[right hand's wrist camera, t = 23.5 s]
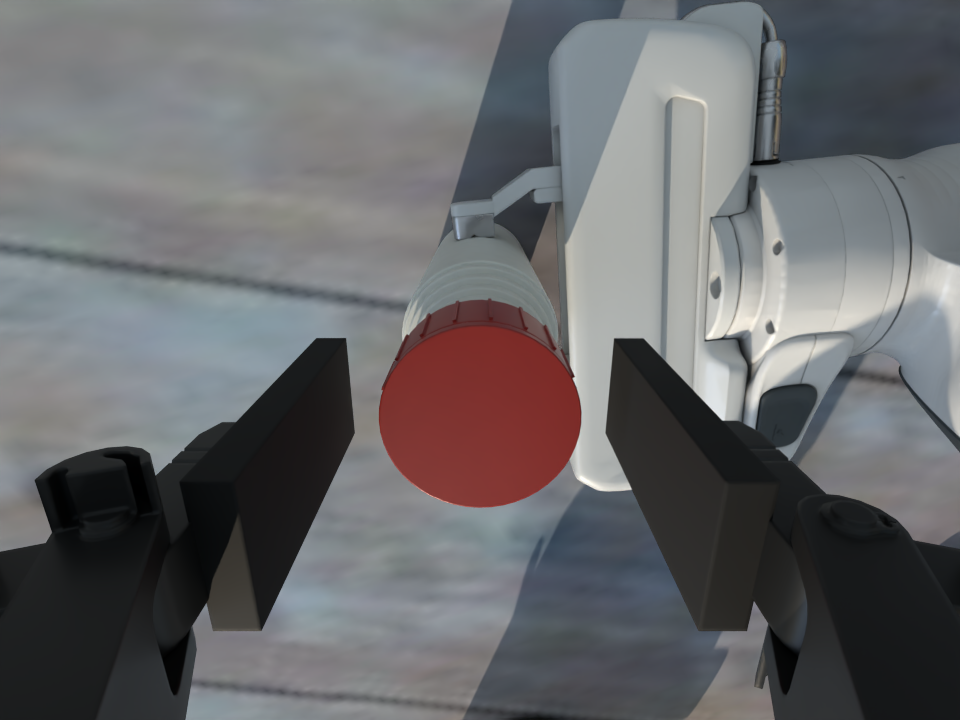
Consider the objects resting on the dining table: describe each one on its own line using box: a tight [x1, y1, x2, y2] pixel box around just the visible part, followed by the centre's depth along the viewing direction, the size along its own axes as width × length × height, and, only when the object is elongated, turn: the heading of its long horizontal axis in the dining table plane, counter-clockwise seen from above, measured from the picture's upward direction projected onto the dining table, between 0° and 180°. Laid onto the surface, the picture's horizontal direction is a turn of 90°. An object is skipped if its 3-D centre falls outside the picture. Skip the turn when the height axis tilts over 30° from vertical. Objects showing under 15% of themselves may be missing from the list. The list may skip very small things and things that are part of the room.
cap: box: [379, 298, 582, 508], centre depth 13 cm, size 5×5×2 cm
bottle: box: [402, 223, 558, 344], centre depth 21 cm, size 5×5×19 cm
